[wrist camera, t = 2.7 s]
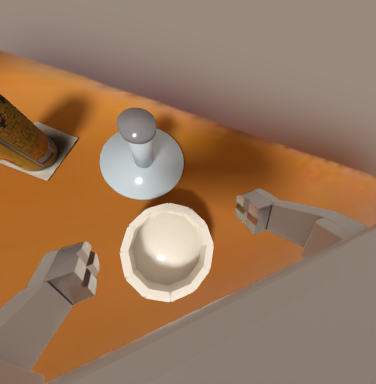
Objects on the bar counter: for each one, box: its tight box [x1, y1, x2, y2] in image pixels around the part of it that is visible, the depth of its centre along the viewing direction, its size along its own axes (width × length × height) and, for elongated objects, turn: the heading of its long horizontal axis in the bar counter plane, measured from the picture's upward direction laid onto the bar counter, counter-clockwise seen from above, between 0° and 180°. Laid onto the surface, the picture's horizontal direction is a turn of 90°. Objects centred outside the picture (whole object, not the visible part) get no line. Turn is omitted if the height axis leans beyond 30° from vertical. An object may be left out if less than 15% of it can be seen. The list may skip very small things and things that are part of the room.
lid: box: [100, 108, 184, 200], centre depth 22 cm, size 14×14×10 cm
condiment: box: [0, 94, 78, 181], centre depth 19 cm, size 7×8×12 cm
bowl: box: [120, 203, 214, 302], centre depth 22 cm, size 12×12×4 cm
